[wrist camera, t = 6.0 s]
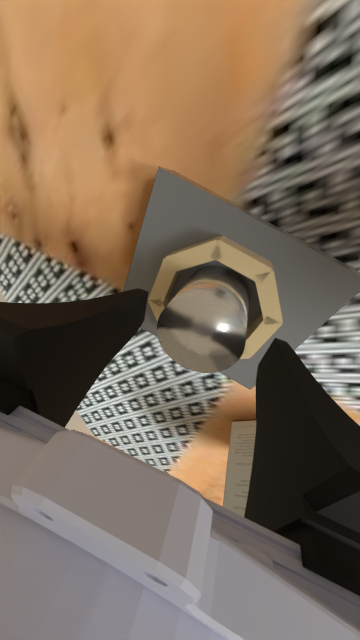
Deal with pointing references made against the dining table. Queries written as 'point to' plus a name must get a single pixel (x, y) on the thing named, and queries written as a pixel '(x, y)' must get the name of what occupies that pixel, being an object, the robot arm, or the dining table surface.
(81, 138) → the dining table surface
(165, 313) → the shiny metal cylinder
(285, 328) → the grey square plate
